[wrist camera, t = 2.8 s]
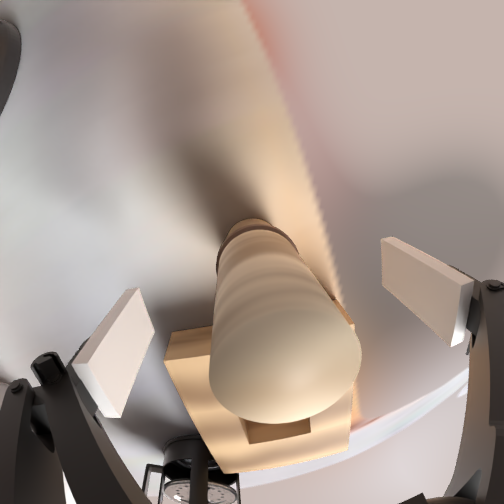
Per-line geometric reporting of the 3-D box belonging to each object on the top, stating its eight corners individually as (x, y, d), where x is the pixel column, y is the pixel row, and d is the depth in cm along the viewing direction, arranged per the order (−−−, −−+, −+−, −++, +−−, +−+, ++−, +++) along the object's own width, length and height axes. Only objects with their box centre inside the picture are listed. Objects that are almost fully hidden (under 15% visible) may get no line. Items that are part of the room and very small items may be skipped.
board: (172, 331, 23) (163, 360, 19) (336, 299, 23) (354, 323, 19) (223, 448, 28) (224, 474, 24) (338, 425, 28) (347, 449, 25)
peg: (212, 219, 20) (181, 323, 7) (279, 206, 20) (367, 284, 7) (226, 281, 22) (226, 435, 8) (290, 269, 22) (362, 405, 9)
